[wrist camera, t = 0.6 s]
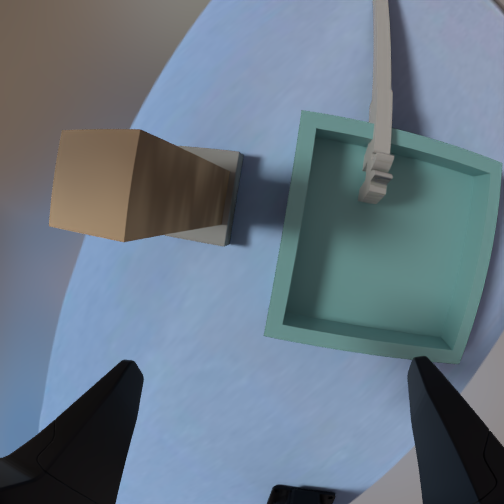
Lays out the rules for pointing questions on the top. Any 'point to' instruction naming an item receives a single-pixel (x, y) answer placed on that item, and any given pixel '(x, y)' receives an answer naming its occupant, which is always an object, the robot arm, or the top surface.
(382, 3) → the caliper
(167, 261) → the top surface
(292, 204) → the tray
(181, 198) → the tall tan wooden block
